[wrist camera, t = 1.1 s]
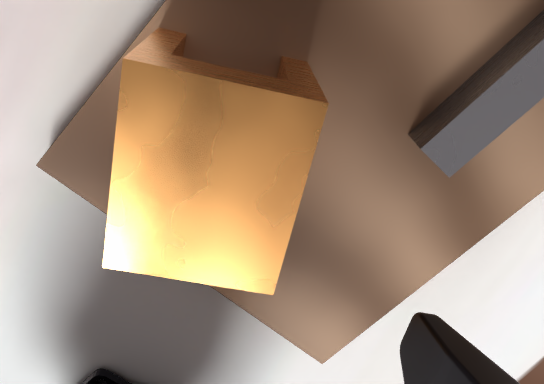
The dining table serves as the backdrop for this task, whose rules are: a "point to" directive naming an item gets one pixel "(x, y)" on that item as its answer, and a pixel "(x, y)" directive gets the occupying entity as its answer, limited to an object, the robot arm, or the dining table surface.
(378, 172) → the walnut board
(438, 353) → the robot arm
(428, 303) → the dining table surface
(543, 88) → the grey flat rectangular block
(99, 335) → the dining table surface
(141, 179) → the block
